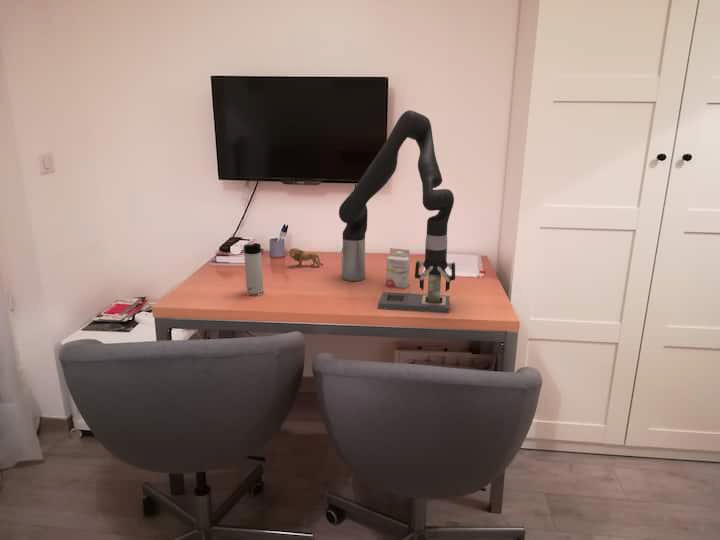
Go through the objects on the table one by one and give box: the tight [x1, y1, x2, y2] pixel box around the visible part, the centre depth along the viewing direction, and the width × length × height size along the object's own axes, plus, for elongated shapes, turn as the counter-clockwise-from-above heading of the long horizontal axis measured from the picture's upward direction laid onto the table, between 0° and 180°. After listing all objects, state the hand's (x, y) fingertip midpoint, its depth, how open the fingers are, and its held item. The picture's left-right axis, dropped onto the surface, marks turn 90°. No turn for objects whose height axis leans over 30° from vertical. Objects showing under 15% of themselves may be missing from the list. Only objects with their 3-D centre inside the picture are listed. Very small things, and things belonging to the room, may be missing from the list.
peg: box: [427, 273, 442, 303], centre depth 191 cm, size 4×4×12 cm
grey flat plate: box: [377, 291, 451, 314], centre depth 194 cm, size 25×12×2 cm, turn 80°
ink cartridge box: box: [385, 247, 411, 289], centre depth 212 cm, size 9×5×15 cm, turn 71°
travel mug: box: [243, 243, 264, 296], centre depth 202 cm, size 6×7×20 cm
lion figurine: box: [289, 247, 324, 269], centre depth 237 cm, size 15×5×9 cm, turn 99°
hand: (434, 289), depth 191 cm, fingers open, 8 cm apart
